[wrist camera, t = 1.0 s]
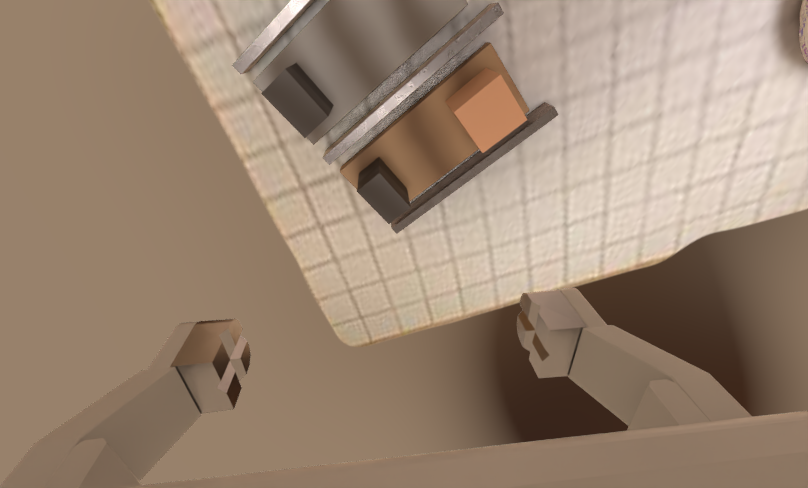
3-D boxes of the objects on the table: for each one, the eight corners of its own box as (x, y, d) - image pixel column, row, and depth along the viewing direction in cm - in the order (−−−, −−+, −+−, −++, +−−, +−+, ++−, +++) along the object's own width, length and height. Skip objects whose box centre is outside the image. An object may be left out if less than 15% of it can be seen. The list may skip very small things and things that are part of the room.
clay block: (485, 67, 35) (500, 74, 31) (510, 108, 38) (527, 119, 33) (444, 101, 37) (453, 112, 33) (471, 138, 39) (482, 153, 35)
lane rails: (416, -131, 29) (419, -143, 27) (548, 109, 40) (558, 114, 37) (240, 62, 35) (232, 65, 33) (395, 223, 46) (396, 233, 44)
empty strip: (412, -85, 30) (420, -108, 25) (464, 4, 34) (481, 2, 28) (256, 79, 36) (235, 90, 30) (315, 140, 40) (305, 160, 34)
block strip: (486, 42, 36) (506, 46, 30) (524, 107, 39) (548, 121, 34) (341, 167, 41) (335, 189, 36) (385, 213, 45) (387, 240, 39)
